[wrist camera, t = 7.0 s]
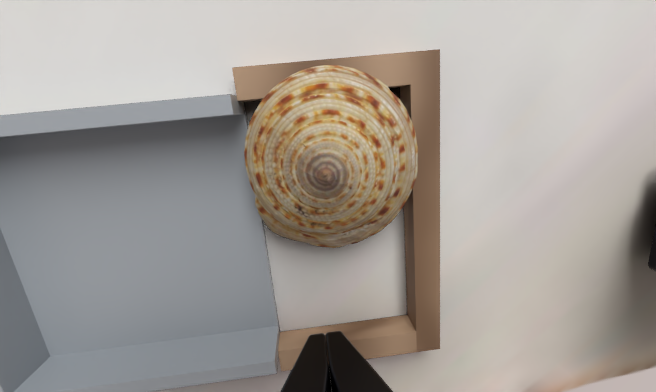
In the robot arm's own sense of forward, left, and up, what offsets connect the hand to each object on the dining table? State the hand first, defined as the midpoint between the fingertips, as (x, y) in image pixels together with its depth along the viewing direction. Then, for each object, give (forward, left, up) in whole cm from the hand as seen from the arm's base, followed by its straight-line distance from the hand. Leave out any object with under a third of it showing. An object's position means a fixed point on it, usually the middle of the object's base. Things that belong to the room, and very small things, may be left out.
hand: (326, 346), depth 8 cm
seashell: (-1, 0, -10) cm, 10 cm away
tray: (+10, 0, -10) cm, 14 cm away
